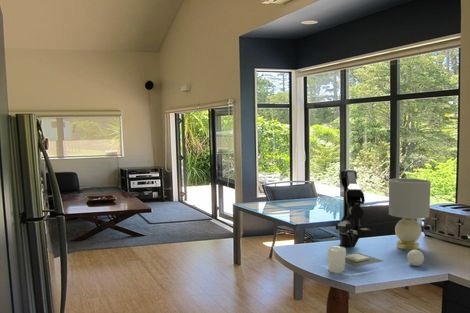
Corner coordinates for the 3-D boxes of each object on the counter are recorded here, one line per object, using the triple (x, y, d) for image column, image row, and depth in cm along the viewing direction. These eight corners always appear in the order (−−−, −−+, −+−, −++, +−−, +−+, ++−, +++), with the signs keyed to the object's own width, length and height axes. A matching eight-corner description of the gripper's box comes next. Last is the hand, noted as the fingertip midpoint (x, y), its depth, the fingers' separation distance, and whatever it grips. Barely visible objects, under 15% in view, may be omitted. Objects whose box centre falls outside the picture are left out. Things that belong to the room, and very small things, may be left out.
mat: (331, 259, 229) (331, 257, 229) (359, 254, 238) (359, 252, 238) (356, 267, 215) (356, 266, 215) (384, 262, 224) (384, 260, 224)
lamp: (383, 248, 249) (385, 180, 246) (392, 241, 266) (394, 177, 264) (424, 254, 238) (426, 183, 236) (431, 246, 255) (433, 179, 253)
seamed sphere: (422, 263, 222) (422, 248, 222) (425, 268, 215) (426, 252, 215) (399, 262, 224) (399, 247, 224) (402, 267, 217) (402, 251, 216)
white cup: (335, 274, 205) (335, 251, 204) (323, 269, 212) (323, 247, 211) (349, 272, 209) (349, 249, 208) (337, 267, 216) (338, 245, 215)
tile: (344, 255, 228) (357, 259, 222) (357, 253, 232) (369, 257, 226) (344, 258, 228) (357, 262, 222) (357, 256, 233) (369, 260, 226)
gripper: (327, 213, 232) (326, 245, 233) (355, 219, 216) (354, 253, 217) (344, 211, 238) (343, 242, 239) (373, 217, 222) (372, 250, 223)
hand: (353, 247), depth 229 cm, fingers closed
